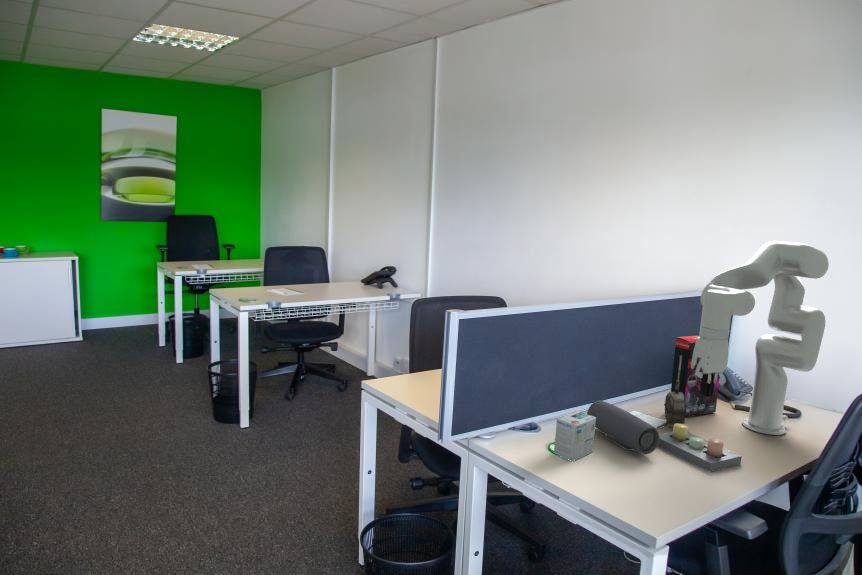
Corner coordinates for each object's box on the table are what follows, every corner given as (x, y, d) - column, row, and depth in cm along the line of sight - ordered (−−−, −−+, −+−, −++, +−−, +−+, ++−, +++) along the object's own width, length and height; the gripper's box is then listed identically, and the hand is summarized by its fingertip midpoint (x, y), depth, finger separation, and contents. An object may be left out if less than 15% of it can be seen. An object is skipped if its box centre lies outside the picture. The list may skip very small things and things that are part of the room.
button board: (682, 437, 187) (683, 429, 187) (740, 464, 170) (741, 456, 170) (652, 443, 181) (653, 435, 181) (710, 471, 164) (711, 463, 164)
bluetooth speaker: (659, 456, 172) (663, 423, 170) (633, 460, 168) (637, 426, 167) (607, 427, 193) (610, 397, 191) (583, 429, 189) (586, 399, 187)
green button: (694, 449, 178) (695, 436, 178) (705, 454, 175) (707, 441, 174) (684, 451, 176) (686, 438, 176) (696, 456, 173) (698, 443, 172)
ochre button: (678, 435, 183) (680, 422, 183) (689, 440, 180) (691, 427, 179) (669, 436, 181) (670, 424, 181) (680, 442, 178) (681, 429, 177)
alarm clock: (684, 435, 189) (690, 386, 187) (666, 433, 190) (672, 384, 188) (677, 423, 200) (683, 376, 198) (660, 420, 201) (665, 374, 199)
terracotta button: (712, 450, 173) (714, 437, 172) (725, 456, 169) (726, 443, 169) (703, 452, 171) (705, 439, 170) (715, 458, 167) (717, 445, 167)
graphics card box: (681, 419, 204) (692, 341, 200) (665, 412, 210) (675, 336, 206) (716, 413, 212) (726, 338, 208) (699, 406, 218) (709, 333, 214)
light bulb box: (573, 444, 177) (576, 409, 175) (593, 452, 172) (597, 416, 170) (552, 454, 169) (555, 417, 168) (573, 462, 165) (576, 425, 163)
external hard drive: (656, 431, 193) (621, 419, 202) (668, 426, 198) (633, 414, 207) (656, 426, 193) (622, 414, 202) (668, 421, 198) (634, 409, 207)
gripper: (719, 328, 177) (712, 388, 180) (684, 332, 171) (677, 394, 174) (743, 334, 171) (734, 396, 174) (707, 338, 164) (699, 402, 167)
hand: (706, 394), depth 174 cm, fingers closed
